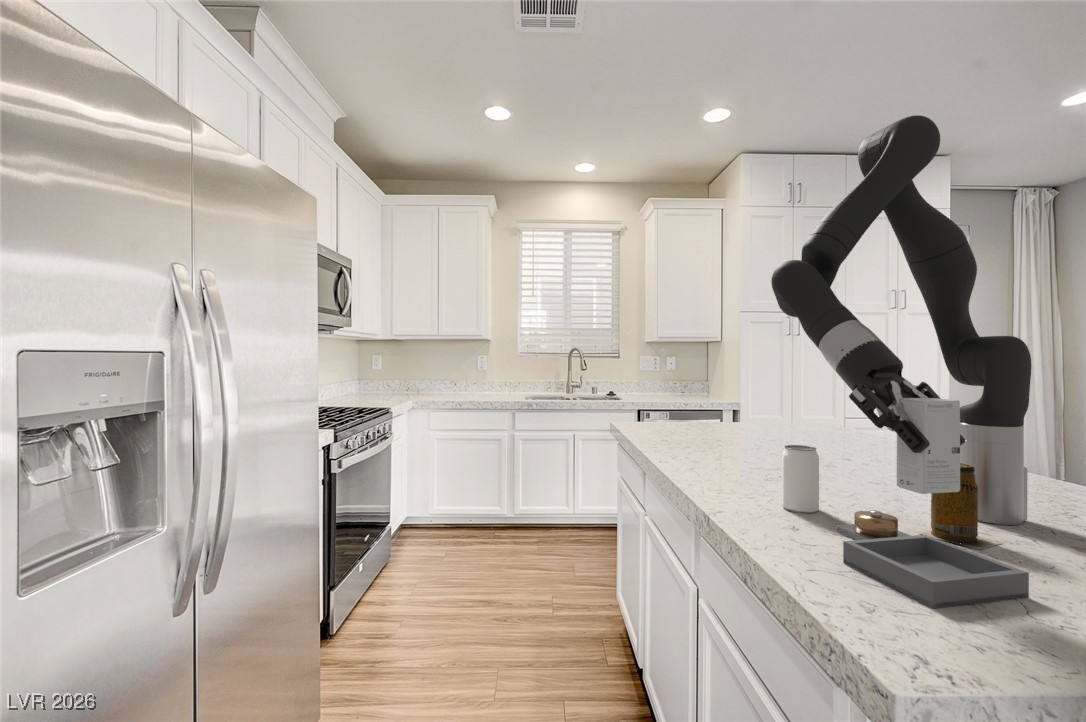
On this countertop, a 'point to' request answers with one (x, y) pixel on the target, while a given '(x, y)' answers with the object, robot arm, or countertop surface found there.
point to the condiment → (958, 513)
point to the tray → (936, 571)
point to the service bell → (871, 526)
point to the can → (800, 479)
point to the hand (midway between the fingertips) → (941, 447)
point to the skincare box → (931, 447)
